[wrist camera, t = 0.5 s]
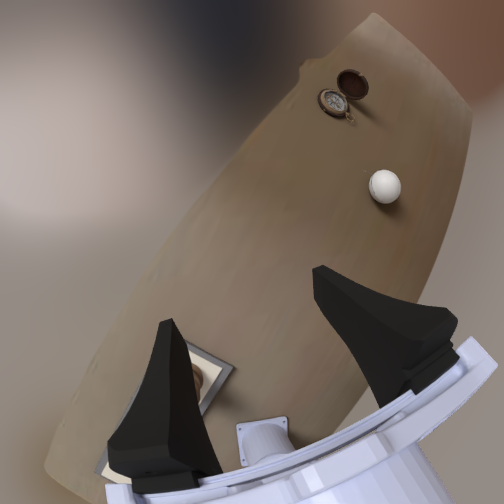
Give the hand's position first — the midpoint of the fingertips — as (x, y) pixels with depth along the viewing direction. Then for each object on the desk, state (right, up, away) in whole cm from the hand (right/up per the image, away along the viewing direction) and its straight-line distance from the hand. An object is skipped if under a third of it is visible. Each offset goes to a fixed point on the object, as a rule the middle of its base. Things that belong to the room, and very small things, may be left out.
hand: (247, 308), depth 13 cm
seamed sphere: (+21, +14, +30) cm, 39 cm away
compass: (+16, +30, +31) cm, 45 cm away
